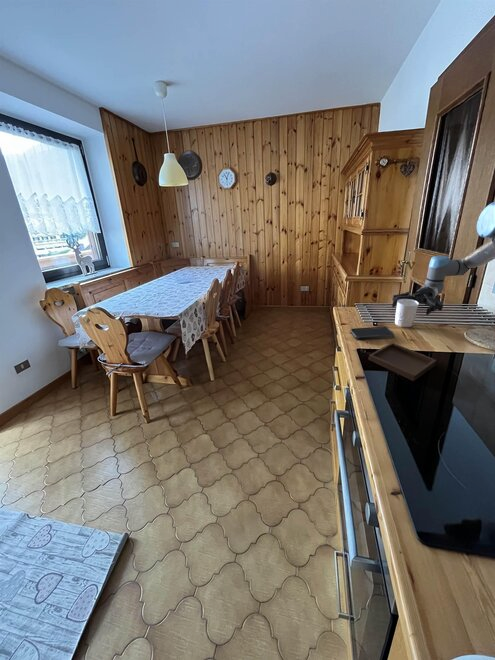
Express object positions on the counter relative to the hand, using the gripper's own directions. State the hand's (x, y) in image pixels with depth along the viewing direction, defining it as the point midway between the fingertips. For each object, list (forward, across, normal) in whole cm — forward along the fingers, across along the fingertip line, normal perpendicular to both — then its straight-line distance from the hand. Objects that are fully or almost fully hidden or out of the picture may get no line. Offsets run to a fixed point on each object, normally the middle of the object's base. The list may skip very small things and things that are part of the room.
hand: (409, 308), depth 121 cm
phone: (+22, +6, -6) cm, 23 cm away
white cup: (+4, 0, -6) cm, 8 cm away
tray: (+35, -10, -6) cm, 37 cm away
